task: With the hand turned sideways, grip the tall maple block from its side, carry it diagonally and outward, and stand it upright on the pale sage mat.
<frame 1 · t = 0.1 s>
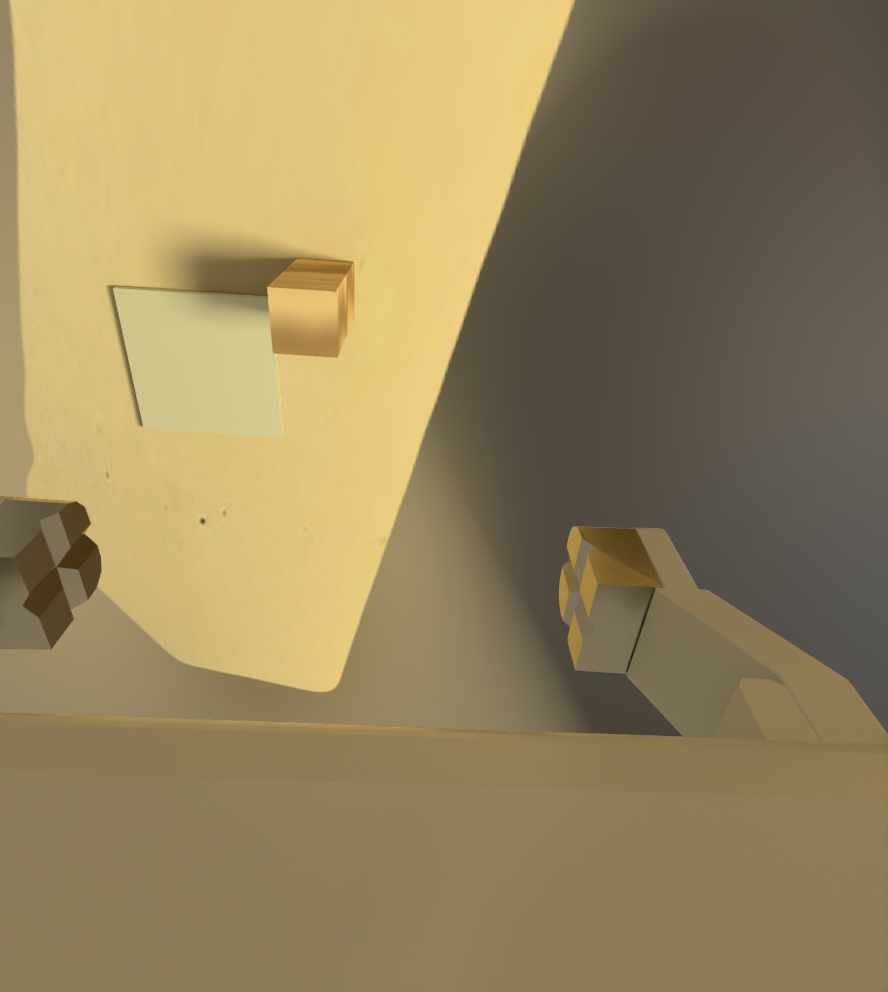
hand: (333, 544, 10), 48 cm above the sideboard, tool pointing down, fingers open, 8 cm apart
maple block: (326, 289, 54), on the sideboard
sage mat: (206, 365, 58), on the sideboard
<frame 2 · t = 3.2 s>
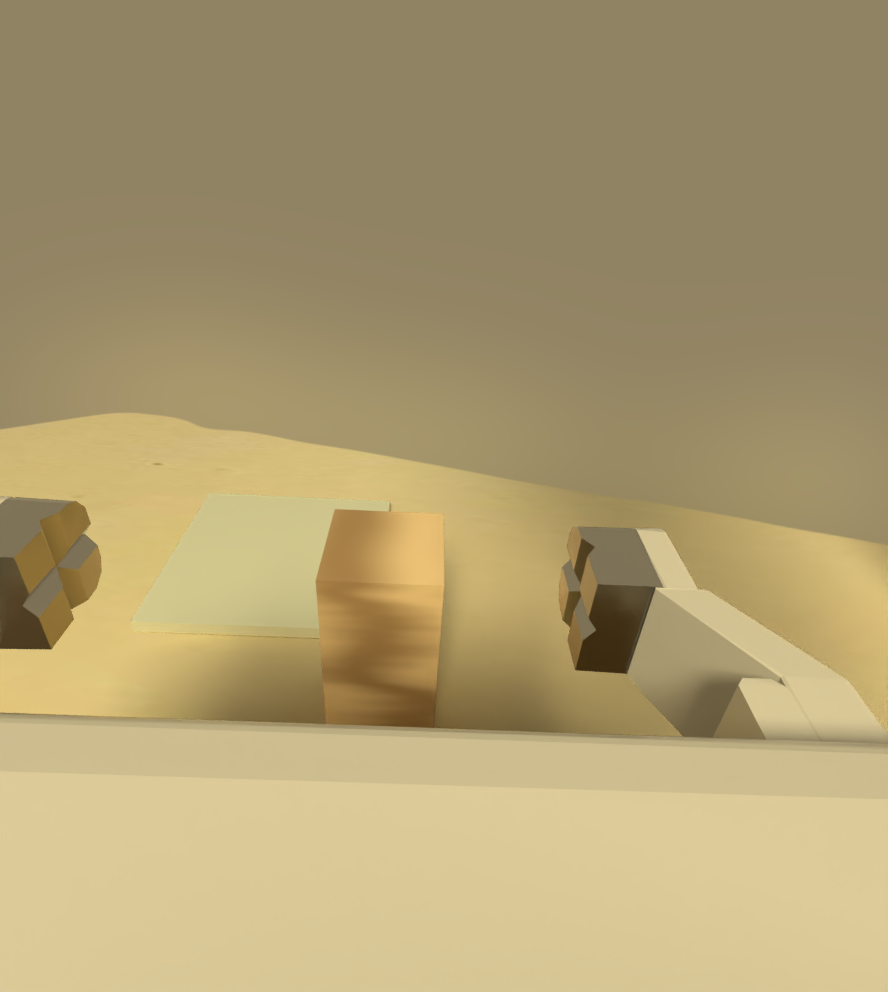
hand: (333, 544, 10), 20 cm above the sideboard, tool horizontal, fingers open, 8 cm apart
maple block: (383, 712, 31), on the sideboard
sage mat: (281, 561, 41), on the sideboard
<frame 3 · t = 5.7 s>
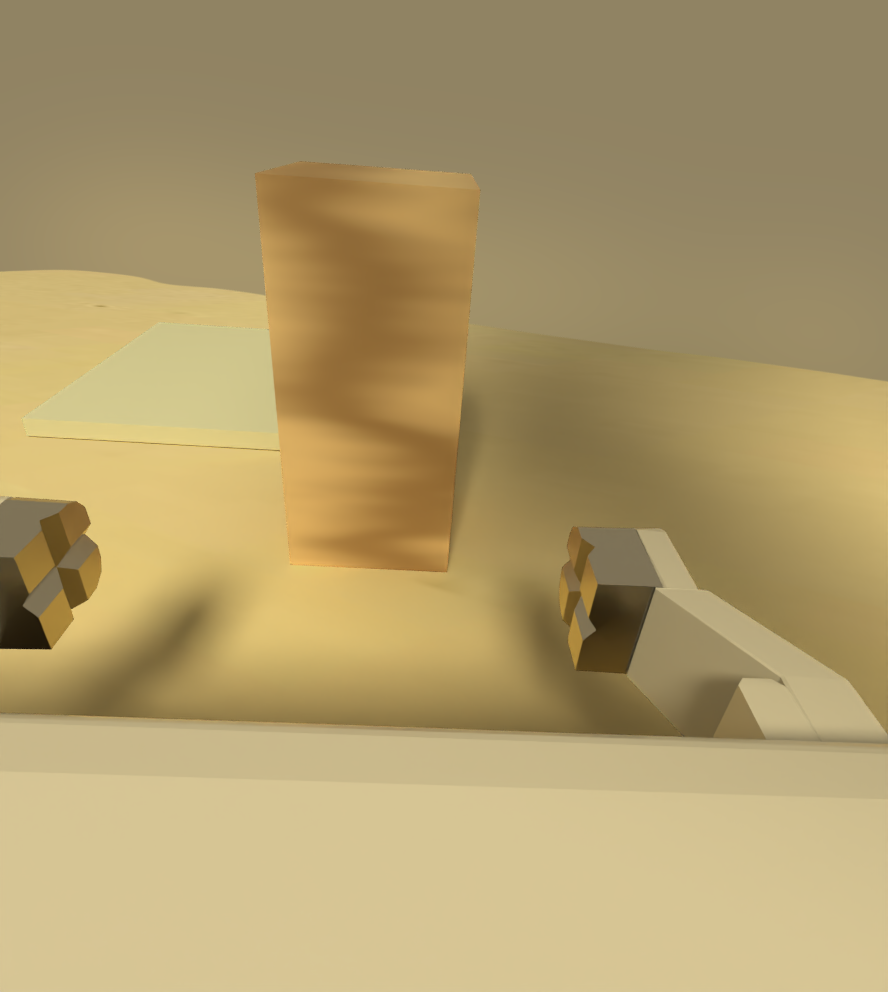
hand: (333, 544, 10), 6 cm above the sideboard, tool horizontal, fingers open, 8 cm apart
maple block: (376, 523, 21), on the sideboard
sage mat: (244, 384, 31), on the sideboard
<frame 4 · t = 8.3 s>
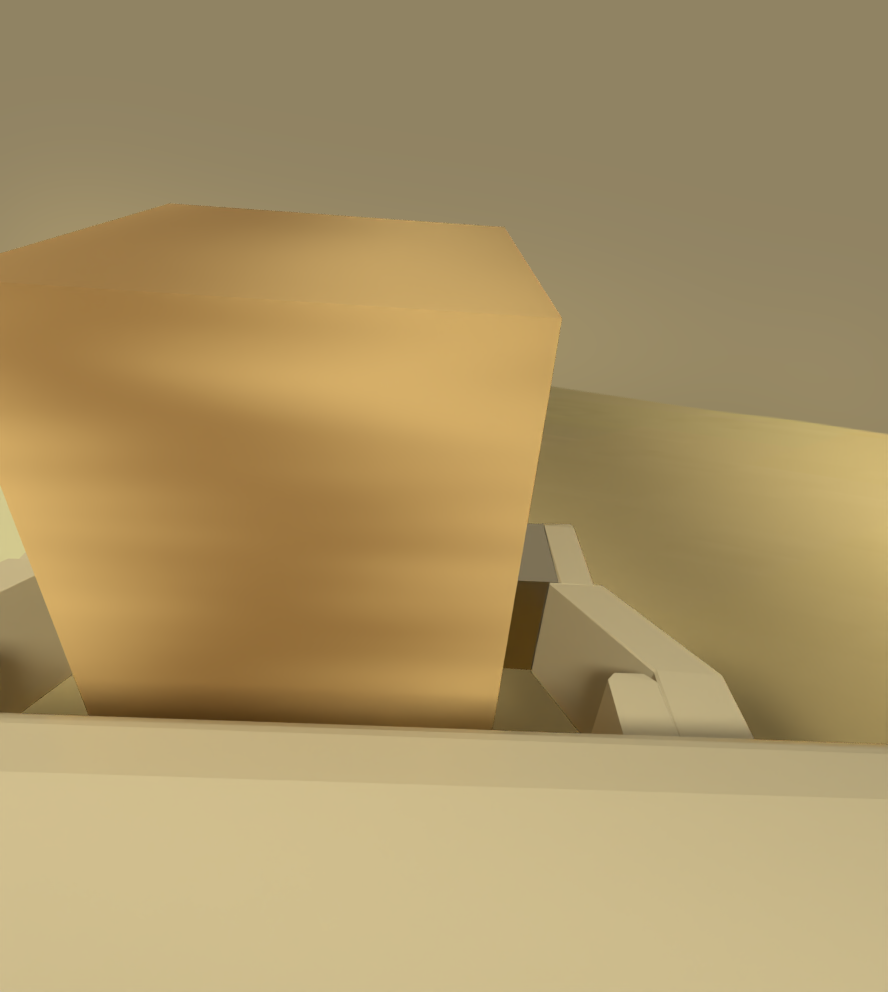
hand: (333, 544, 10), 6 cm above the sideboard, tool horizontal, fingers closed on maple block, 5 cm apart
maple block: (336, 798, 13), on the sideboard, touching gripper
sage mat: (170, 486, 22), on the sideboard
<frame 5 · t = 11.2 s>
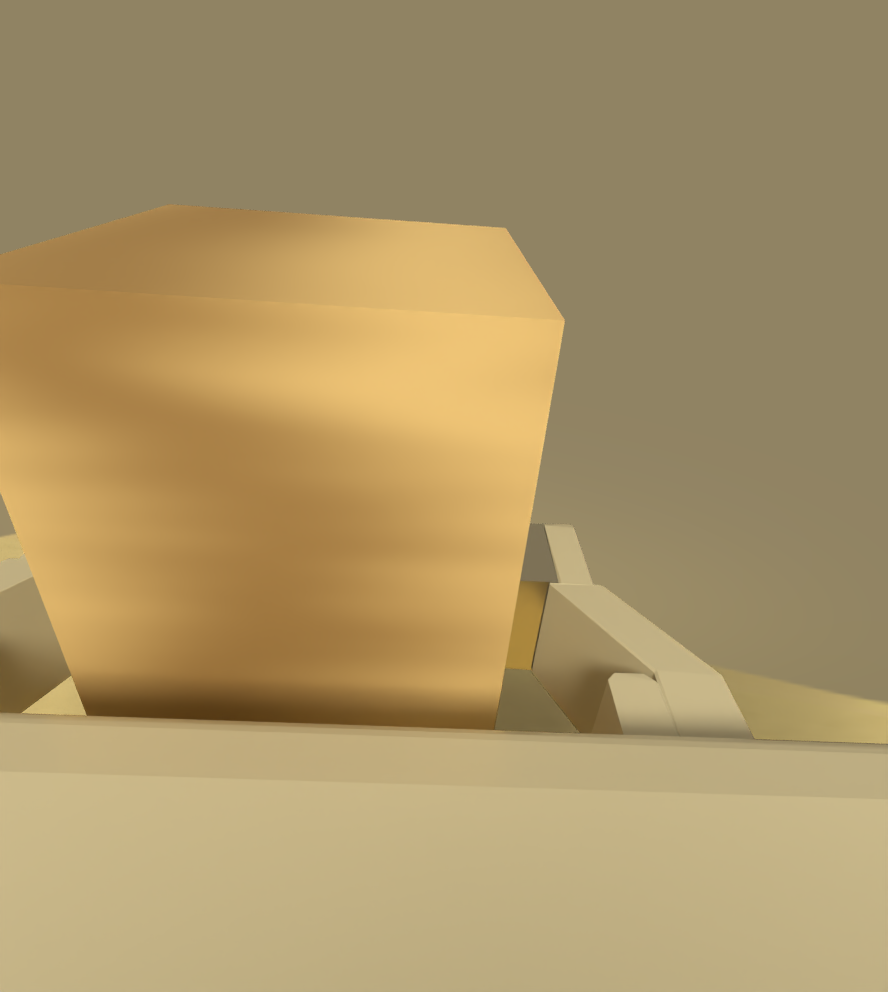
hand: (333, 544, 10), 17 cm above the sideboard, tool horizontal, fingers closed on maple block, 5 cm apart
maple block: (336, 800, 13), point 11 cm above the sideboard, touching gripper
when the fingers open (8 cm above the sideboard, at t = 13.9 s): maple block drops 1 cm, resting on sage mat.
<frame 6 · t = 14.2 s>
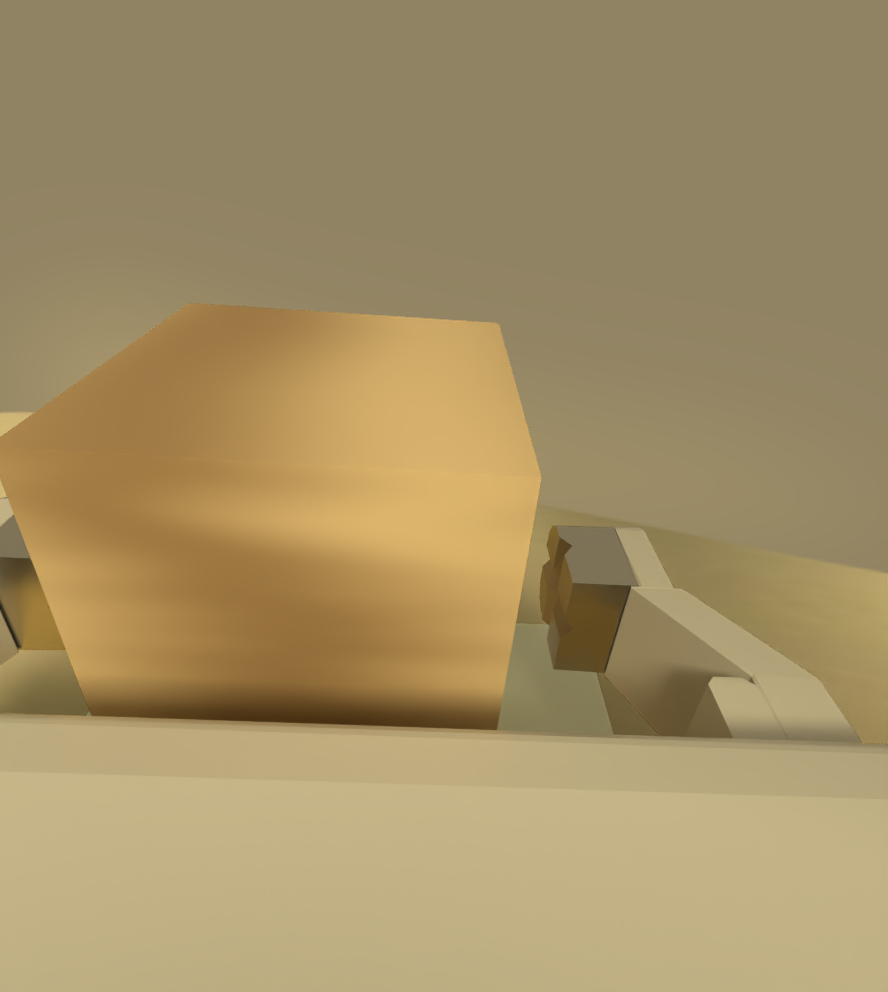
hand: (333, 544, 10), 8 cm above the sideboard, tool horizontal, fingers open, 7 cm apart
maple block: (340, 836, 13), point 1 cm above the sideboard, touching sage mat
sage mat: (339, 853, 14), on the sideboard
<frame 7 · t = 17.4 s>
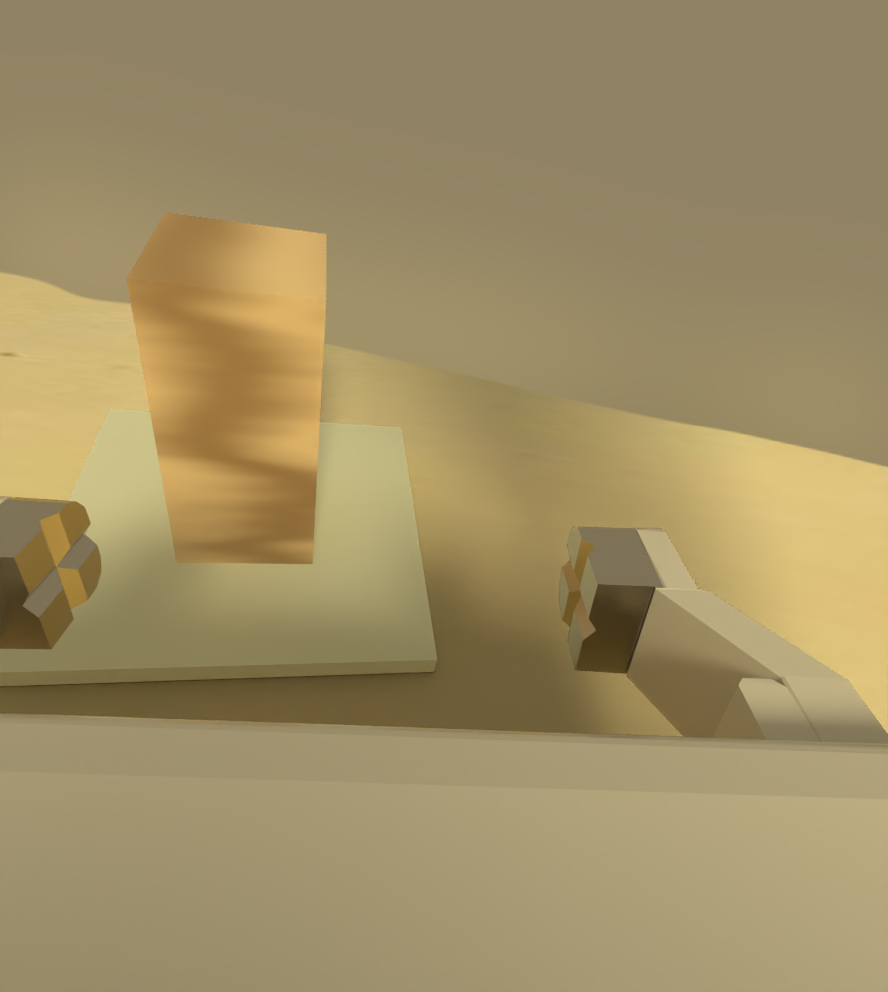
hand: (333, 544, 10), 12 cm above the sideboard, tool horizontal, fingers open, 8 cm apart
maple block: (251, 517, 25), point 1 cm above the sideboard, touching sage mat
sage mat: (251, 530, 25), on the sideboard
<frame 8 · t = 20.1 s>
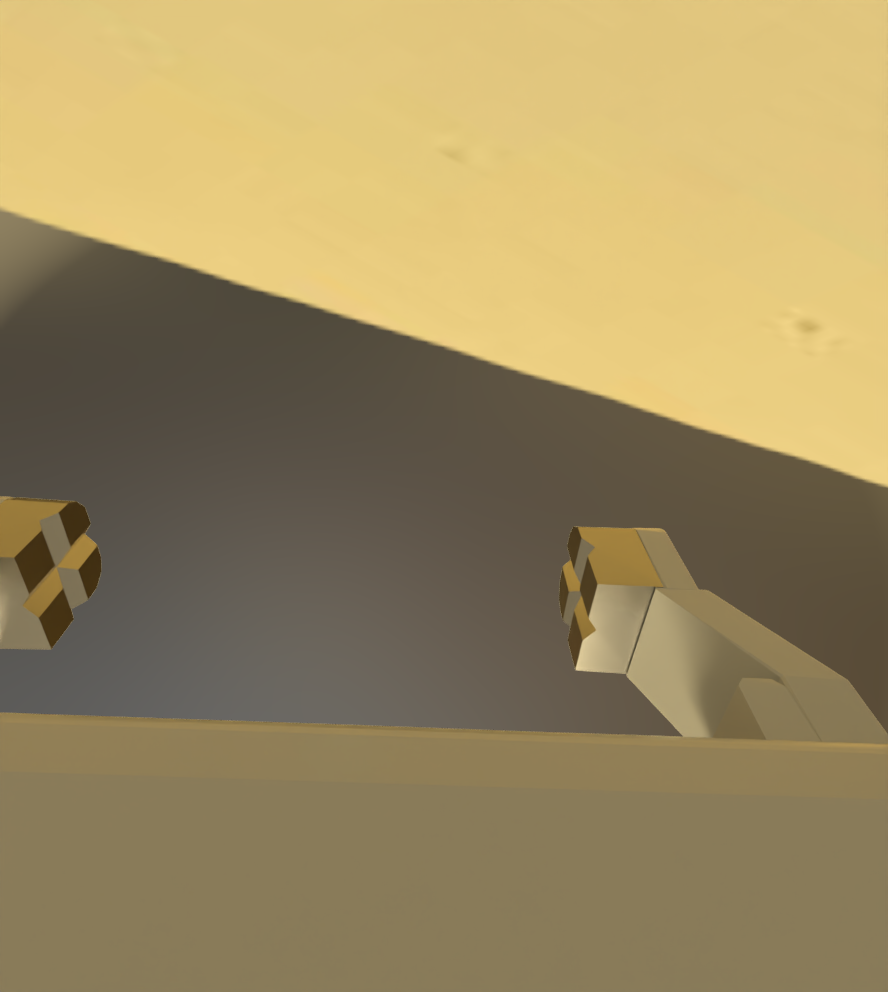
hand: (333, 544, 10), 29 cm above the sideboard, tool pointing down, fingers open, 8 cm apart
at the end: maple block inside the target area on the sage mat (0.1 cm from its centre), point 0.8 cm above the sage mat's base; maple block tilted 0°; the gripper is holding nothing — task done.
